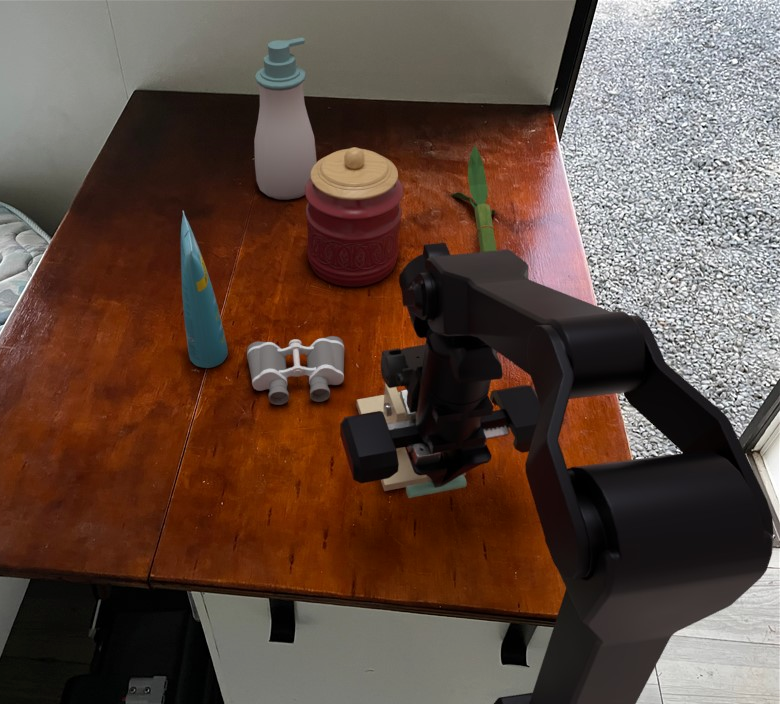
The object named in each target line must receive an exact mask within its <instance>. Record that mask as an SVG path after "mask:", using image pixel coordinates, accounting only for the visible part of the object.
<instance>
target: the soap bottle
mask: <svg viewBox="0 0 780 704" xmlns="http://www.w3.org/2000/svg"><path fill="white" fill-rule="evenodd" d="M305 43H306V39H305V38H304V37H302V36H301V37H298V38H293V39H289V40H282V39H277V40H276V39H275V40H272V41H270V42H269V43H268V44H267V50H268V54H267V55H265V56H264V58H263V67H261V68H260V69H259V70H257V71H256V74H255V76H254V79H255V82H256V83H257V84H258V91H259V109H258V110H259V111H258V117H257V124H256V128H255V135H254V170H255V180H256V183H257V186H258V188H259V191H261V192H262V193H263V194H264V195H266V196H267V197H269V198H272V199H276V200H285V201H287V200H296V199H299V198H302V197H304V196H305V186H306V184H307V182H308V180H309V179H310V178H311V170H312V168H313V166H314V165H315V164H316V163H317V150H316V142H315V135H314V132H313V128H312V125H311V121H310V119H309V115H308V111H307V108H306V104H305V93H304V82H305V81H306V77H307V74H306V72H305V70H304V69H303V68H302V67H300V66H298V65H296V64H297V63H296V57H295V54H293V53H291V52H290V49H291V48H292V47H297V46H301V45H305Z"/></svg>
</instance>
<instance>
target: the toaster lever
mask: <svg viewBox="0 0 780 704" xmlns="http://www.w3.org/2000/svg"><path fill="white" fill-rule="evenodd" d="M399 392H400V395H399V396H400V398H401V401H402V403H403V406H404V409H405V411H406V417H405V420H410V419H416V412H413V413H410V411H409V409H408V406H407V403H406V402H407V393H408V391H407V390H406V389H402V390H400V391H399ZM426 476H427V475H426ZM427 479H428V482H425V483H420V484H415V485H410V486H406V487H405V492H406V493H405V494H406V496H407V498H408V499H411V498H417V497H421V496H422V497H423V496H427V495H433V494H436V493H443V492H447V491H452V490H457V489H463V488H466V487H467V484H468V483H467V479H466V477H465V476H464V475H461V476H459V477H457V478H455V479H454V480H452V481H450V482H449V483H447V484H445V485H444V486H442V487H436V488H435V487H434V485H433V482H432V479H431V478H430V477H428V476H427Z"/></svg>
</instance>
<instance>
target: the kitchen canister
mask: <svg viewBox="0 0 780 704" xmlns="http://www.w3.org/2000/svg"><path fill="white" fill-rule="evenodd" d="M304 196H305V199H306V201H307V204H306V205H305V206H306V207H305V218H306V225H307V244H306V254H307V255H306V256H307V259H308V263H309V265H310V269H312V271H313V272H314V273H315V274H316V276H318V277H319V278H321V280H324V281H326V282H328V283H330V284H333V285H337V286H341V287H342V286H343V287H350V288H351V287H355V288H356V287H364V286H368V285H369V286H370V285H373V284H376V283H378V282H381V281H382V280H383V279H385V278H386V277H388V276H389V275H390V274H391V273H392V272H393V271H394V268H395V266H396V263H397V261H398V257H399V251H400V245H399V234H400V223H401V219H402V214H403V213H402V206H401V204H400V203H401V201H402V199H403V196H404V186H403V184H402V182H401V180H400V178H399V172H398V169H397V167H396V165H395V164H394V163H393V161H392V160H390V159H388V158H387V157H385V156H383V155H381V154H379V153H377V152H375V151H372V150H369V149H365V148H359V147H354V146H353V147H350V148H345V149H340V150H336V151H334V152H332V153H330V154H328V155H326V156H324V157H322V158H320V159H319V160H318V161H316V164H315V165H314V166H313V168H312V170H311V178H310V179H309V180H308V182H307V184H306V186H305V195H304Z"/></svg>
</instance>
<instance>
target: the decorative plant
mask: <svg viewBox="0 0 780 704" xmlns="http://www.w3.org/2000/svg"><path fill="white" fill-rule="evenodd" d="M467 177H468V178H467V179H468V188H469V194H470V195H471V197H470V196H468V195H465V194H464V193H463V192H461V191H458V192H455V193H452V194H451V196H452V197H455V198H456V199H459V200H463V201H466V202H469V203H470V204H471V206H472V207H473V210H474V216H475V222H476V230H477V232H476V233H477V237H478V244H479V252H487V251H497V250H498V249H497V243H496V238H495V228H494V226H493V225H494V224H493V219H492V215H494V214H495V213H496V210H495V209H491V206H490V205H489V204H488V203H487V201H488V194H489V189H488V184H487V177H486V172H485V166H484V161H483V159H482V156H481V154H480V152H479V150H478V148H477V146H476V145H473V147H472V150H471V153H470V156H469V158H468V163H467Z"/></svg>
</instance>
